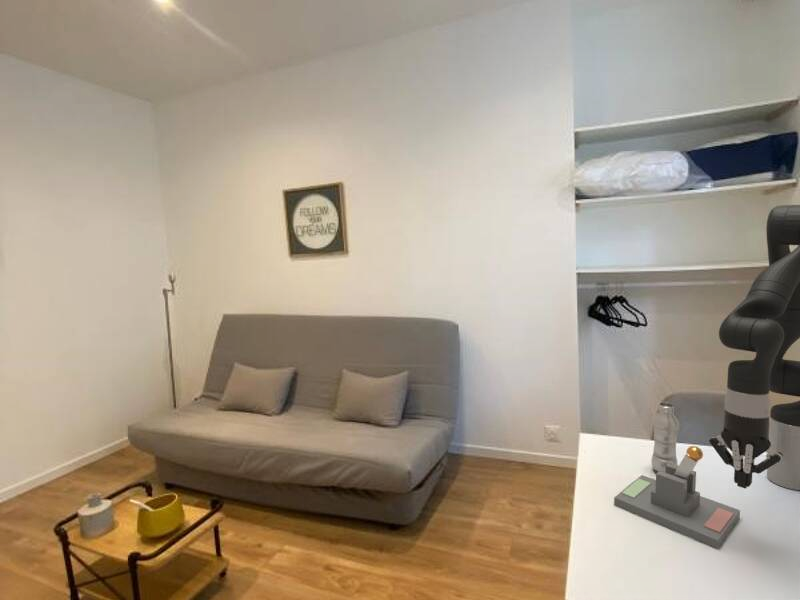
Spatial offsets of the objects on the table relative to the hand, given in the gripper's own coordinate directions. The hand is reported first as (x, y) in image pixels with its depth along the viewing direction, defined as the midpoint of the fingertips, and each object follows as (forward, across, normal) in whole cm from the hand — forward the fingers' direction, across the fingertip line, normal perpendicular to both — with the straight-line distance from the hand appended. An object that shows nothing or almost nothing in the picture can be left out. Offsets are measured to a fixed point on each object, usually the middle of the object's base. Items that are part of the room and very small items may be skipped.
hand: (742, 486), depth 95 cm
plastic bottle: (+12, +22, -18) cm, 31 cm away
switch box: (+12, +13, 0) cm, 18 cm away
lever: (+6, +13, 0) cm, 15 cm away
